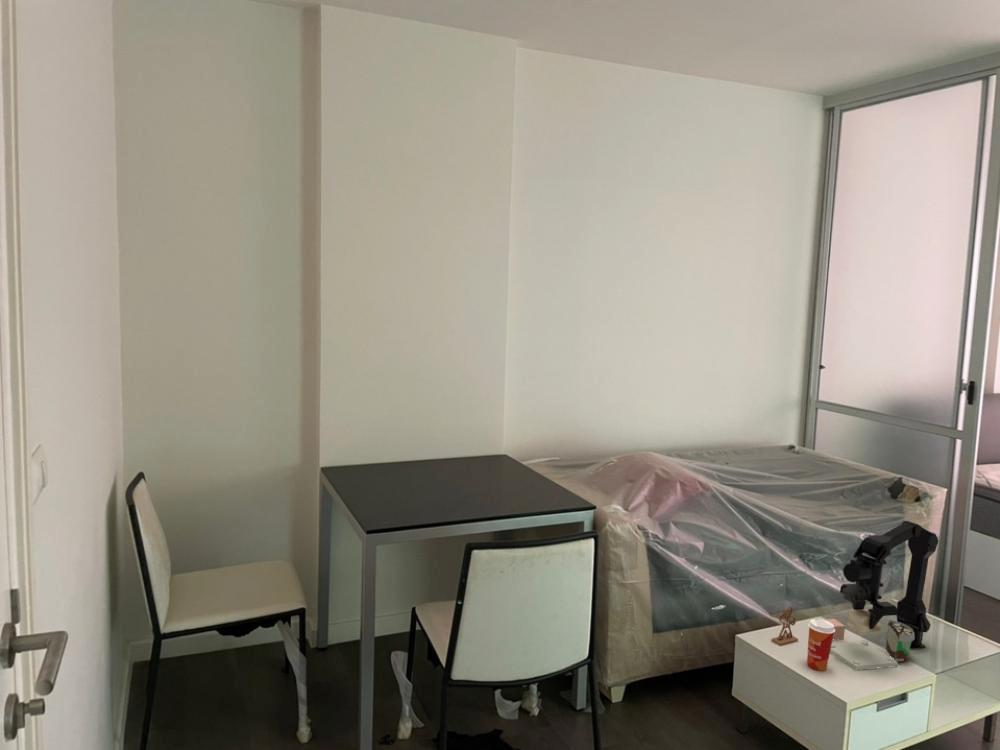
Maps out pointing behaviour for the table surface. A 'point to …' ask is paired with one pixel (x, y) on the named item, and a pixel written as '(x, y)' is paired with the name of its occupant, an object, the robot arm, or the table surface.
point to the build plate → (861, 655)
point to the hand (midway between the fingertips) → (864, 624)
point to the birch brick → (862, 621)
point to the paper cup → (819, 644)
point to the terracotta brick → (837, 629)
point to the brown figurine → (788, 637)
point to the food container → (899, 640)
